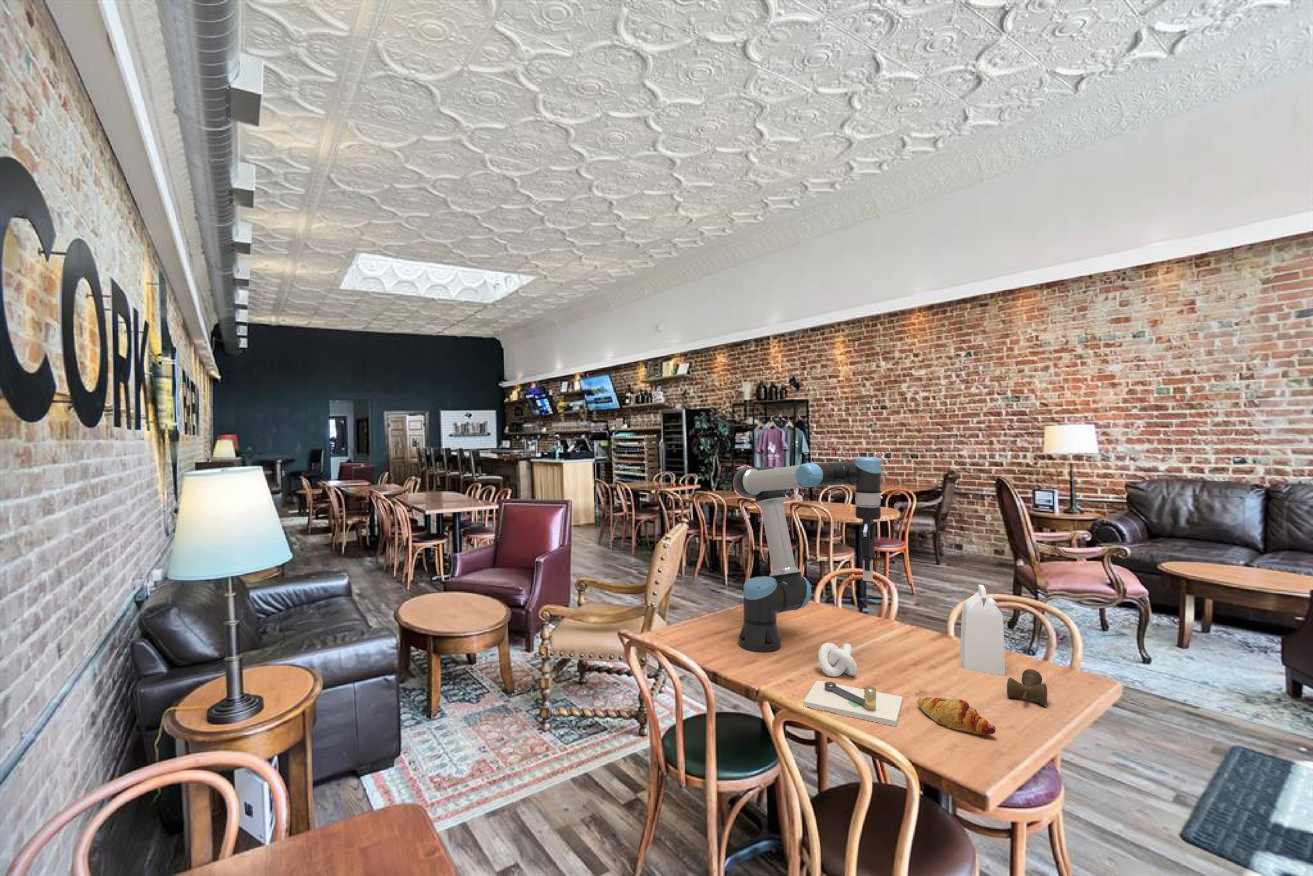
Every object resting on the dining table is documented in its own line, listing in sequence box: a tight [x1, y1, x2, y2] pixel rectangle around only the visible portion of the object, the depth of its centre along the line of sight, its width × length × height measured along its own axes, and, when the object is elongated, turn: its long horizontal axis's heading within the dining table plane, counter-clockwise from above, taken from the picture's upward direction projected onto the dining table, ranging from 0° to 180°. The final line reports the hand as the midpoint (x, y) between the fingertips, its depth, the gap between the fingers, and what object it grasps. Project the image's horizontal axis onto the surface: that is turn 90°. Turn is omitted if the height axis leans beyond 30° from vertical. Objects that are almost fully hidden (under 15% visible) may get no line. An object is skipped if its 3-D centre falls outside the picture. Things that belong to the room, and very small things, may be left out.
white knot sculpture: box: [817, 642, 858, 678], centre depth 189 cm, size 11×12×9 cm
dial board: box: [803, 680, 904, 727], centre depth 167 cm, size 24×16×2 cm, turn 62°
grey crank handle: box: [824, 681, 877, 710], centre depth 167 cm, size 17×3×5 cm, turn 31°
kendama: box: [1006, 668, 1048, 707], centre depth 172 cm, size 6×10×20 cm
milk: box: [959, 584, 1006, 677], centre depth 194 cm, size 12×12×26 cm
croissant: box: [916, 696, 997, 736], centre depth 156 cm, size 21×10×8 cm, turn 34°
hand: (867, 580), depth 188 cm, fingers closed
